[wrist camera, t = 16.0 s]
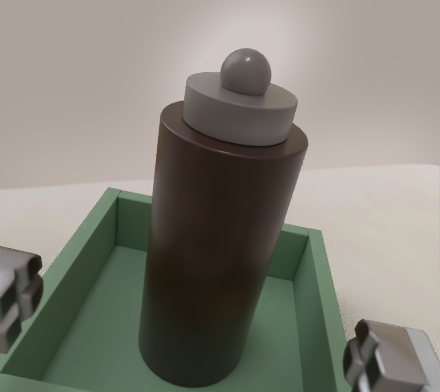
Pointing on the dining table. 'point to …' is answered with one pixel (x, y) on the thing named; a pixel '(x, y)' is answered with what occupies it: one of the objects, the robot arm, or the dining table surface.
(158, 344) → the pepper mill
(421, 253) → the dining table surface
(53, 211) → the dining table surface
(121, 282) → the tray
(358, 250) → the dining table surface
